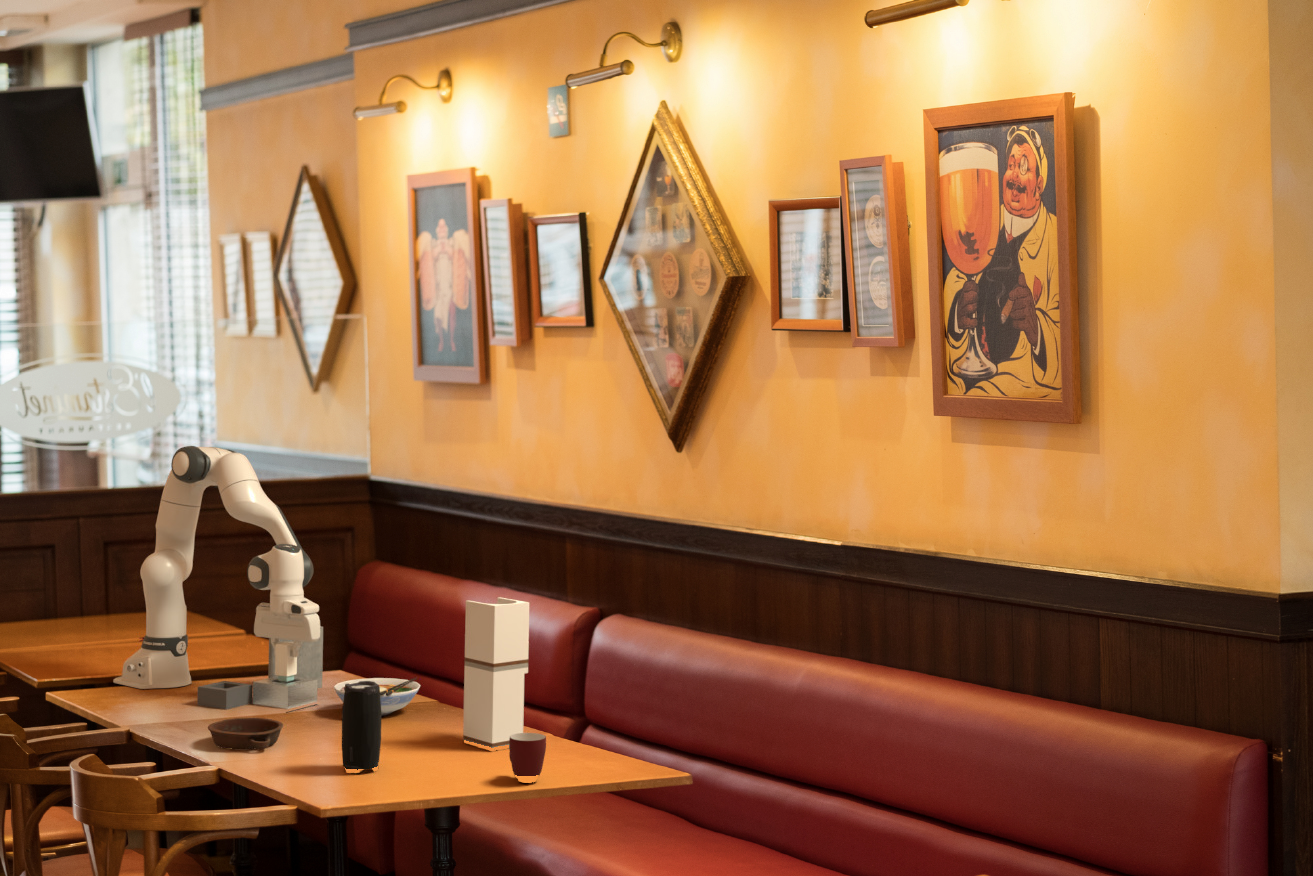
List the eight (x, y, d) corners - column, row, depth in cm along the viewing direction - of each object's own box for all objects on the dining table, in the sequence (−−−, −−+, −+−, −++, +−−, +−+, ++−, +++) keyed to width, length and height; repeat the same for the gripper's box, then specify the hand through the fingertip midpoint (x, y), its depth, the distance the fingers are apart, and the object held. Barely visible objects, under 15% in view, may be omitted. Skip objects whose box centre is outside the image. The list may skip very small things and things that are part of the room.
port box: (252, 707, 399) (252, 681, 399) (282, 700, 410) (282, 674, 410) (287, 712, 394) (288, 686, 394) (317, 705, 405) (317, 679, 404)
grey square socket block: (197, 709, 396) (197, 686, 396) (223, 702, 405) (224, 680, 405) (226, 713, 391) (226, 690, 391) (252, 706, 400) (252, 684, 400)
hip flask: (319, 685, 432) (320, 617, 431) (325, 688, 428) (326, 618, 428) (266, 690, 423) (267, 620, 422) (271, 693, 419) (272, 622, 419)
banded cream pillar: (526, 745, 362) (529, 602, 362) (492, 752, 355) (494, 605, 354) (497, 737, 371) (500, 597, 370) (463, 743, 363) (465, 600, 362)
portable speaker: (363, 763, 341) (364, 678, 341) (388, 770, 335) (390, 684, 335) (332, 769, 335) (334, 683, 334) (358, 777, 329) (359, 689, 328)
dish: (226, 759, 343) (226, 737, 343) (194, 740, 361) (194, 720, 361) (297, 750, 354) (298, 729, 354) (263, 732, 372) (263, 712, 371)
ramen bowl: (355, 701, 410) (355, 672, 410) (433, 706, 406) (434, 677, 405) (316, 720, 386) (317, 688, 386) (399, 725, 381) (400, 694, 381)
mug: (493, 779, 330) (494, 734, 329) (521, 773, 335) (522, 729, 335) (525, 788, 322) (525, 742, 322) (552, 782, 328) (553, 737, 328)
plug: (275, 680, 401) (275, 643, 400) (285, 678, 404) (285, 641, 404) (286, 682, 399) (287, 645, 399) (296, 679, 403) (297, 642, 402)
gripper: (248, 603, 403) (248, 654, 403) (308, 609, 394) (308, 661, 394) (264, 600, 409) (264, 650, 409) (324, 606, 400) (323, 657, 400)
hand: (286, 655), depth 402 cm, fingers closed on plug, 4 cm apart
